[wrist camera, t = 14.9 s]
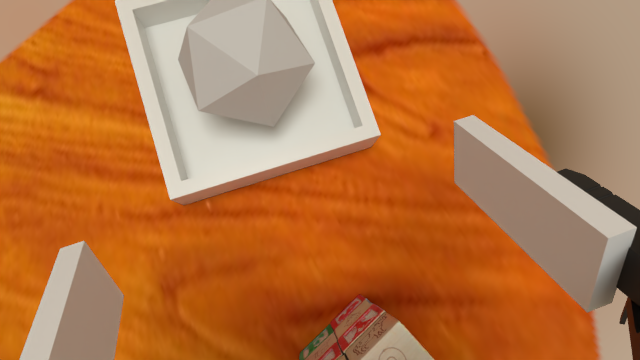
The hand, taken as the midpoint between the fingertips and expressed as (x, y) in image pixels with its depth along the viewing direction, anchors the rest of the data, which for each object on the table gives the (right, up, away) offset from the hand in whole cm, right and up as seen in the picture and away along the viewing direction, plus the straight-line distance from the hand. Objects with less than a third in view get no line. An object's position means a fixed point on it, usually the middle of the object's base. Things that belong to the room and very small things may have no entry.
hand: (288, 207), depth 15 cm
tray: (-4, +8, +18) cm, 21 cm away
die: (-4, +8, +17) cm, 20 cm away
